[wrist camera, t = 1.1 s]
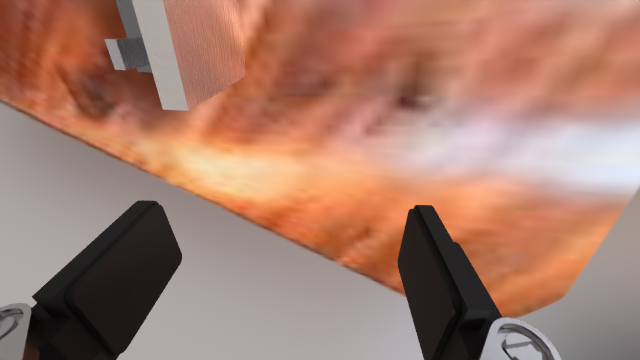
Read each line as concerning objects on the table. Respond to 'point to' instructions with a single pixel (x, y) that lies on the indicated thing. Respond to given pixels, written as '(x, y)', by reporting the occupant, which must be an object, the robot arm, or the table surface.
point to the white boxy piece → (181, 47)
